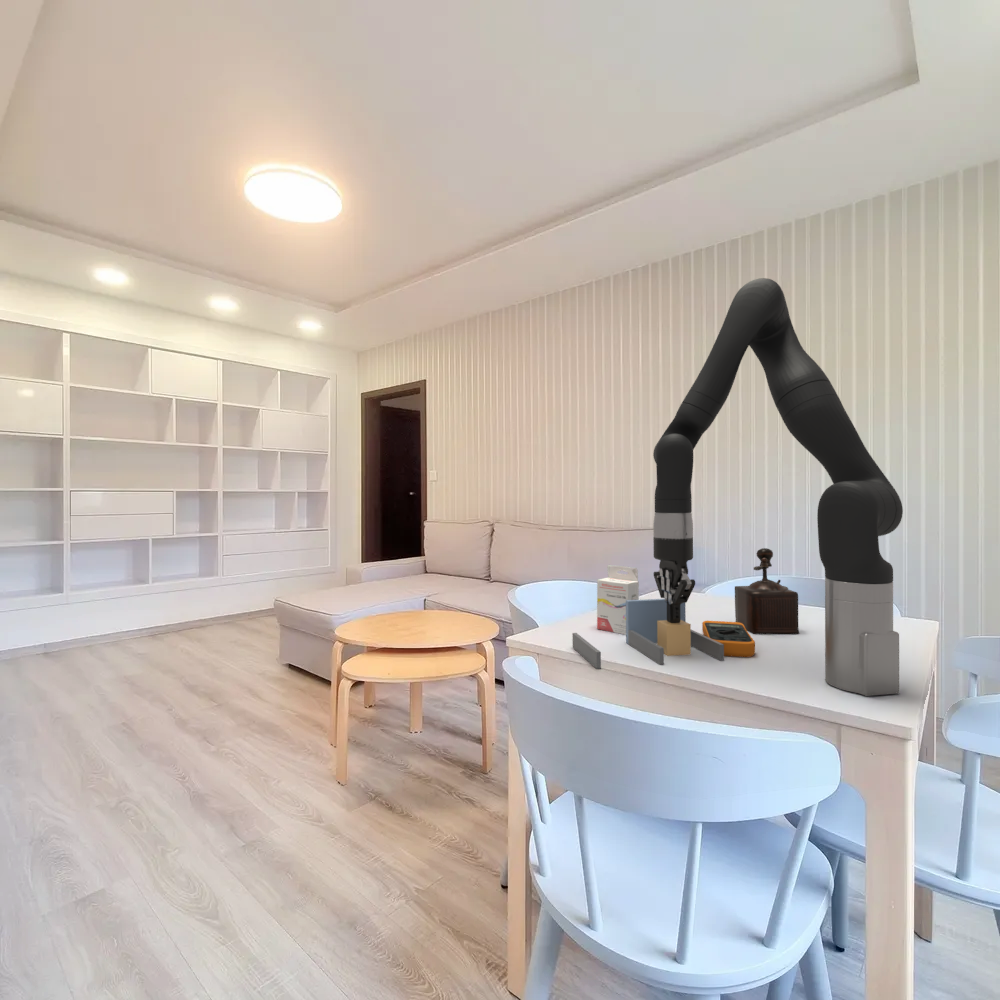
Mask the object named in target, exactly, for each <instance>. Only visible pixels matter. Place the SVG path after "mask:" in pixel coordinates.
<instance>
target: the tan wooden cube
mask: <svg viewBox="0 0 1000 1000" xmlns="http://www.w3.org/2000/svg"><path fill="white" fill-rule="evenodd" d="M691 627H692V625H691V623H688V622H687V621H686V622H685V621H682V620H680V623H670V622H668V621H667V620H662V621H657V643H656V644H657V645H659V646H661V647H663V648H664V655H665V656H666V657H670V656H671V657H673V656H686V655H689V656H691V654H692V651H691V650H692V648H691V647H692V646H691V630H692V629H691Z"/></svg>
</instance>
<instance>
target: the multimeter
mask: <svg viewBox="0 0 1000 1000" xmlns="http://www.w3.org/2000/svg"><path fill="white" fill-rule="evenodd" d="M701 624H702V629H701V630H702V633H703V634H702V635H704V636H706V637H709V638H711V639H713V640H715V641H717V642H720V643H722V644H724V657H735V658H751V657H753V656H754V655H755V654H756V641H755V640H754V638H753V637H752V636H751V634H750V632H749V631H747V630H746V628H745V626H744V625H743V624H742V623H739V622H735V621H722V620H721V621H720V620H703V621H702V623H701Z"/></svg>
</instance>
